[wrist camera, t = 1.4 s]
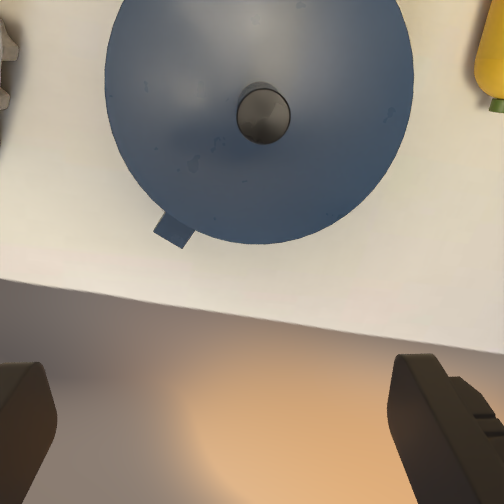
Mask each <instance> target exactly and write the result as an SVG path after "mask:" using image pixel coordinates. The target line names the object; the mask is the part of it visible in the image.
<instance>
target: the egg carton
mask: <svg viewBox="0 0 504 504" xmlns="http://www.w3.org/2000/svg"><path fill="white" fill-rule="evenodd" d="M18 54H19V52H18V45H17V44H15V43H14V42H13V41H12V40H11V38H10V37H9V36H8V34H7V32H6V29H5V26H4V22H3V21H2V20H1V19H0V82H1V63H2V61H6V60H7V61H16V59H17V57H18ZM9 100H10V96H9V94H8V93H7V92H6V91H4V90H3V89H2V88H1V86H0V110H2V109H7V107H8V105H9ZM0 145H1V140H0Z"/></svg>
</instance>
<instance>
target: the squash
mask: <svg viewBox="0 0 504 504" xmlns="http://www.w3.org/2000/svg"><path fill="white" fill-rule="evenodd" d="M474 74H475V79H476V81H477V83H478V85H479V87H480V88H481V89H482V90H483V91H484V92H485V93H486V94H488V95H489V96H492V97H494V98H493V99H492V101H491V104H490V107H489V111H491V112H498V113H504V0H492V2H491V5H490V9H489V13H488V16H487V20H486V23H485V27H484V30H483V34H482V37H481V41H480V44H479V48H478V51H477V55H476V59H475V64H474ZM495 98H497V99H495Z"/></svg>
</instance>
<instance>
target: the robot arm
mask: <svg viewBox="0 0 504 504" xmlns="http://www.w3.org/2000/svg"><path fill="white" fill-rule="evenodd" d="M387 417H388V424H389V429H390V432H391V435H392V437H393V440H394V443H395V445H396V448H397V450H398V453H399V456H400V458H401V461H402V463H403V466H404V468H405V471H406V473H407V476H408V479H409V481H410V484H411V486H412V489H413V492H414V494H415V497H416V499H417V502H418V504H504V426H503V424H502V423H501V422H500V420H499V419H498V418H496V417H495V413H494V412H493V410H492V409H491V407H490V406H489V404H488V403H487V402H486V400H485V399H484V397H483V396H482V394H481V393H479V392H478V391H477V390H476V389H474V388H473V387H472V386H471V385H469V384H468V383H467V382H466V381H464V380H463V379H462V378H461V377H448V375H447V374H446V372H445V370H444V369H443V367H442V366H441V364H440V363H439V361H438V360H437V358H436V357H435V356H434V355H433V354H398V355H397V356H396V358H395V361H394V367H393V372H392V378H391V385H390V391H389V397H388V403H387ZM56 428H57V411H56V408H55V404H54V401H53V397H52V394H51V390H50V387H49V383H48V380H47V377H46V373H45V370H44V367H43V365H42V364H41V363H39V362H11V363H2V364H0V504H22V502H23V500H24V498H25V496H26V494H27V492H28V490H29V488H30V486H31V484H32V482H33V480H34V478H35V476H36V474H37V472H38V470H39V468H40V466H41V464H42V462H43V460H44V458H45V456H46V454H47V452H48V450H49V447H50V446H51V444H52V441H53V439H54V436H55V433H56Z"/></svg>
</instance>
